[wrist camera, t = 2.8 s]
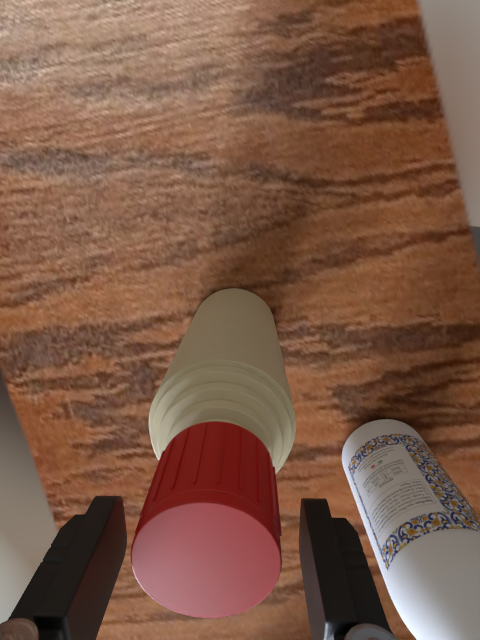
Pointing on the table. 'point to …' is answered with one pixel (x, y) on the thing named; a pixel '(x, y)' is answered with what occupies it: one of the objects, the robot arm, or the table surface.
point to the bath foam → (417, 529)
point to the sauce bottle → (228, 376)
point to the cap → (210, 524)
